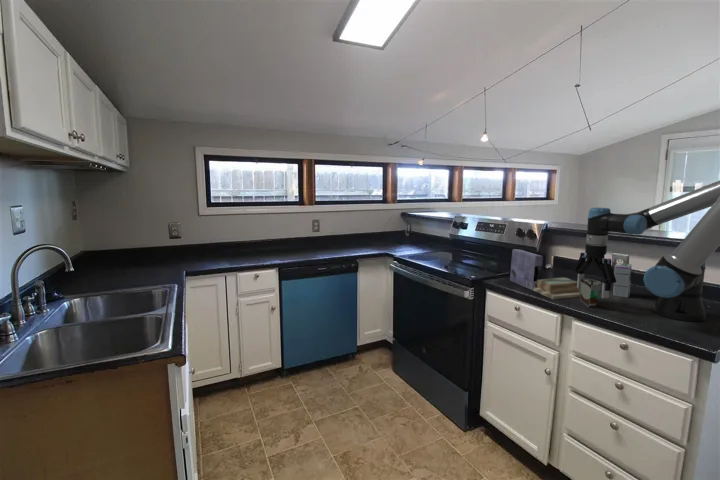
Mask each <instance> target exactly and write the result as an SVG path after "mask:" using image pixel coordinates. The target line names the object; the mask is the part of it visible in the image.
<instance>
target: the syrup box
mask: <svg viewBox="0 0 720 480" xmlns="http://www.w3.org/2000/svg"><path fill="white" fill-rule="evenodd" d="M632 266H633V265H632V264H630V263H624V262H623V263H621V262H620V263H618V262H617V263H616V264H615V265H614V270H613V272H614V275H615V279H616V283H613V289H612V290H613V291H612V292H613V293H612V296H614V297H622V298H629V297H630V295H631V283H632V282H631V279H632Z"/></svg>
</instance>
